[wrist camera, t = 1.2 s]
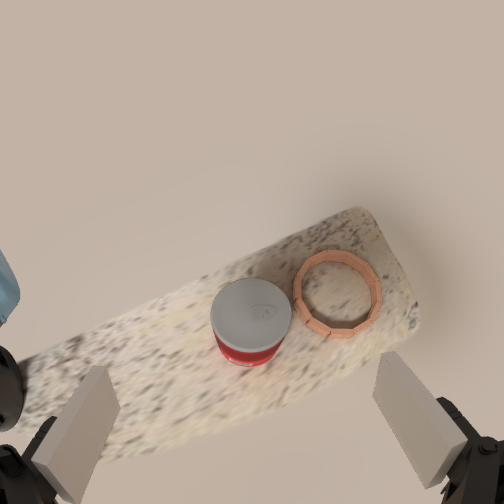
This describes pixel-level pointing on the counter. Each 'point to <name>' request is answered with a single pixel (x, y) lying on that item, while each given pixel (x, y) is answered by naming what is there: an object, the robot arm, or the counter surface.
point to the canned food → (250, 320)
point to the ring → (354, 263)
